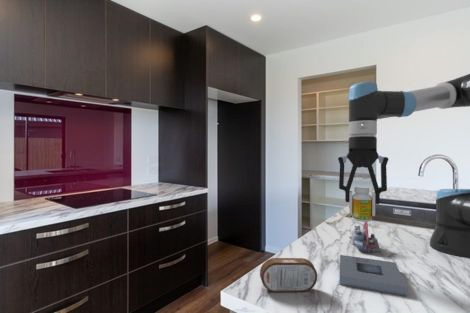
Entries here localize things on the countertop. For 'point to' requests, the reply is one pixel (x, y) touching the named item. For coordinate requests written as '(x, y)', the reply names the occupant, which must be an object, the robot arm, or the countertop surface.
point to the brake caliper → (364, 239)
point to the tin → (288, 275)
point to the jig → (372, 275)
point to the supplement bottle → (361, 205)
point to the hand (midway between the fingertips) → (361, 213)
